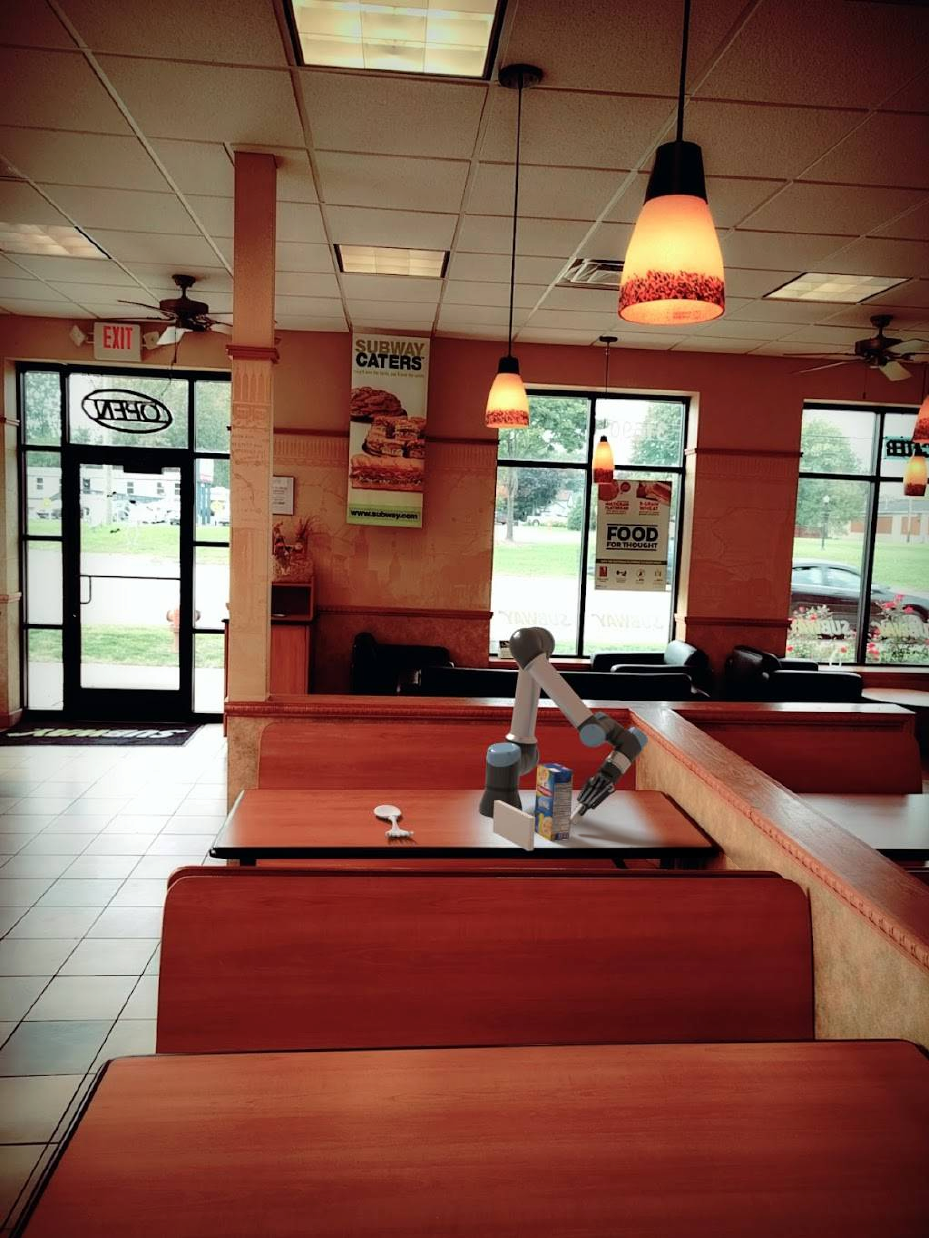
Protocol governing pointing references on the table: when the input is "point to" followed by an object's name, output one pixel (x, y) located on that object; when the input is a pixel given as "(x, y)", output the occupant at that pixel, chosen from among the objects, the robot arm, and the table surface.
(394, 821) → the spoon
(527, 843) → the board
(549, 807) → the beverage box
